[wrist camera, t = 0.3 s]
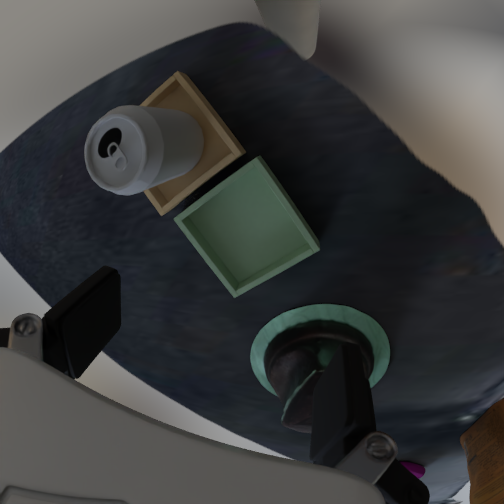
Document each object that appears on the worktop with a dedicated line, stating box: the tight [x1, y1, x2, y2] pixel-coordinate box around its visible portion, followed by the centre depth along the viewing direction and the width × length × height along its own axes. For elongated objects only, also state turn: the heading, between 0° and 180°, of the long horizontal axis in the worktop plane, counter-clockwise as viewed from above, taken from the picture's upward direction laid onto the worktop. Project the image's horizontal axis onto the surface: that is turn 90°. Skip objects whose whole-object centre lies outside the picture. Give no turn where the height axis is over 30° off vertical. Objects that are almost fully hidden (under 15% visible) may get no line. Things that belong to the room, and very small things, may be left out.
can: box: [85, 105, 204, 195], centre depth 25 cm, size 8×8×12 cm
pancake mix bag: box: [460, 398, 504, 504], centre depth 28 cm, size 7×19×28 cm, turn 165°
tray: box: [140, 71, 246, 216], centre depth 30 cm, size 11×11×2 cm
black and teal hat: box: [250, 304, 390, 433], centre depth 37 cm, size 15×19×20 cm
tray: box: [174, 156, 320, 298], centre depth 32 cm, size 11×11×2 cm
